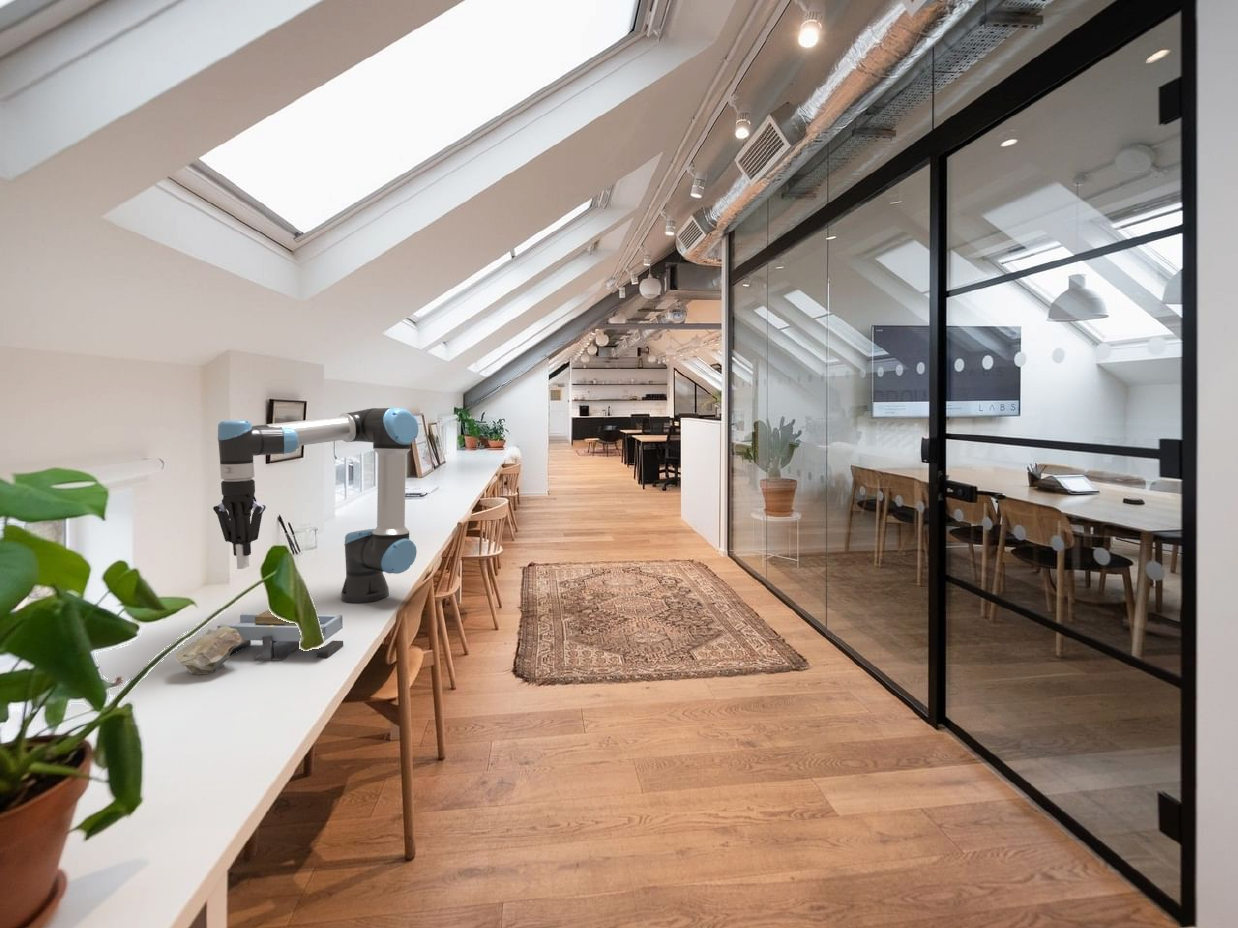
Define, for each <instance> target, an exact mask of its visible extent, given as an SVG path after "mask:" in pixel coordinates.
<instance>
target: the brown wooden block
mask: <svg viewBox="0 0 1238 928" xmlns="http://www.w3.org/2000/svg"><path fill="white" fill-rule="evenodd" d="M258 614H259V615H257V616H255V625H270V626H271V625H274V626H296V624H295V623H289V622H286V621H283V620H281V619H278V618H277V617H275V616H274V615H272V614H271V612H270V611H269V609H267V610H265V611H263V612H262V613H258Z"/></svg>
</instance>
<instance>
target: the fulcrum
mask: <svg viewBox="0 0 1238 928" xmlns="http://www.w3.org/2000/svg"><path fill="white" fill-rule="evenodd" d="M251 645H252V640H243V642H242V643H241V644H239V645H238V646H235V647H234V648H233V650H232V651H231V653H230V655H229V657H232V656H234V655H236V654H237V653H239V652H240V651H242V650H244V649H245V648H247V647H249V646H251ZM343 647H344V640H331V641H329V643H327V644H326V645H324V646H323V647H321V648H320V649H319V650H318V651H316V658H317V659H318V658H320V659H328V658H330V657H331V656H333V655H334V654H335V653H336V652H338V651H339V650H341V648H343ZM297 651H299V641H272V636H263V637H262V653H261V654H259V655H258V656H256V657H254V661H258V662H259V661H263V662H282V661H283V660H285V659H287V658H288V657H289V656H291V655H293V654H294V653H295V652H297Z"/></svg>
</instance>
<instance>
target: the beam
mask: <svg viewBox="0 0 1238 928" xmlns="http://www.w3.org/2000/svg"><path fill="white" fill-rule="evenodd" d="M259 614H260V613H241V614H240V615H239V618H240V619H239V620H240V621H239V622H237V623H236V624H219V625H217V629H219V628H221V627H222V626H228V627H230V628H233V629H236V630H237V631H238V633H239V635H240V636H241V638H242V639H243V640H251V641H262V637H263V636H272V641H300V638H301V635H300V632H299V629H298V627H297V625H296V626H274V625H271V626H270V625H255V616H257V615H259ZM317 615H318V618H319V621H320V625H321V629H322V633H323V636H324V642H325V641H327V640H328V639H330V638H331V637H332V636H334V635H335V634H337V633H338V632H339V631H341V630H342V629H343V624H344V623H343V615H342V614H339V615H337V614H317Z"/></svg>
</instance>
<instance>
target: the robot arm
mask: <svg viewBox="0 0 1238 928" xmlns="http://www.w3.org/2000/svg"><path fill="white" fill-rule="evenodd" d="M418 435H419V424H418V420H417V419H416V417H415V415H413V413H412V412H411V411H409V410H407V409H405V408H398V407H380V408H377V407H376V408H375V407H372V408H367V409H361V410H357V411H352V412H345V413H340V414H339V416H336V417H325V418H315V419H305V420H299V421H298V420H297V421H295V420H294V421H286V422H276V423H275V422H274V423H268V424H267V423H266V424H258V425H252V422H251V421H249V420H221V421H220V422H219V423H218V426H217V441H218V443H217V444H218V451H219V452H218V455H219V469H220V479H221V480H222V481H221V482H220V486H221V487H220V488H221V495H222V496H223V497H222V499H221V502H220V504H218V505H214V506H213V507H212V508H213V511H214V512H215V514H216V515H217V519H218V522H219V524H220V528H221V532H222V534H223V539H224V541H225V542H228V543H231V544H232V550H233V552H232V553H233V556H235V557H236V569H237V570H244V569H246V568H248V567H250V558H249V557H250V555H252V547H251V545H252V544H251V543H252V542H254V541H256V540H258V539H259V533H260V528H261V523H262V517H263V513H264V511H265V510H266V508H267V507H266V505H265V504H260V503H259V502H257V498H256V497H255V494H256V487H255V486H256V484H255V483H256V481H255V480H254V477H255V466H254V464H255V463H254V457H255V456H256V457H257V456H271V455H285V454H292V453H294V452H296V451H297V449H298V447H300V446H309V445H314V444H321V443H323V444H324V443H331V442H337V441H343V442H345V443H352V442H359V443H361V442H362V443H363V442H364V443H371V444H372V450H374V452H376V454H377V503H376V504H377V507H376V509H377V511H376V515H377V516H376V528H371V529H362V530H356V531H350V532H348V533H346V535H345V536H344V552H345V553H344V554H345V555H344V557H345V574H346V575H345V576H346V577H345V580H344V583H343V587H342V590H341V593H340V595H341V596H340V597H341V600H342V602H346V603H350V604H351V603H352V604H360V603H361V604H362V603H370V602H372V603H373V602H375V601H379V600H382V599H385V598H387V597H388V596H389V594H390V590H389V588H390V587H389V586H388V583H387V580H386V577H385V575H384V573H385V574H398V575H399V574H401V573H405V572H406V571H408V570H409V569H410V568H411V566H413V564H414V563H415V560H416V558H417V553H418V552H417V551H418V550H417V546H416V544H415V543H414V542H413V540H411V539H410V530H409V529H408V528H407V527H406V526H405V525H406V523H405V522H406V472H407V471H406V462H407V457H406V456H407V454H408V453H409V452H410V451H411V448H412V447H411V446H412V443H414V442H415V440H416V438H418ZM386 596H387V597H386Z"/></svg>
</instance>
